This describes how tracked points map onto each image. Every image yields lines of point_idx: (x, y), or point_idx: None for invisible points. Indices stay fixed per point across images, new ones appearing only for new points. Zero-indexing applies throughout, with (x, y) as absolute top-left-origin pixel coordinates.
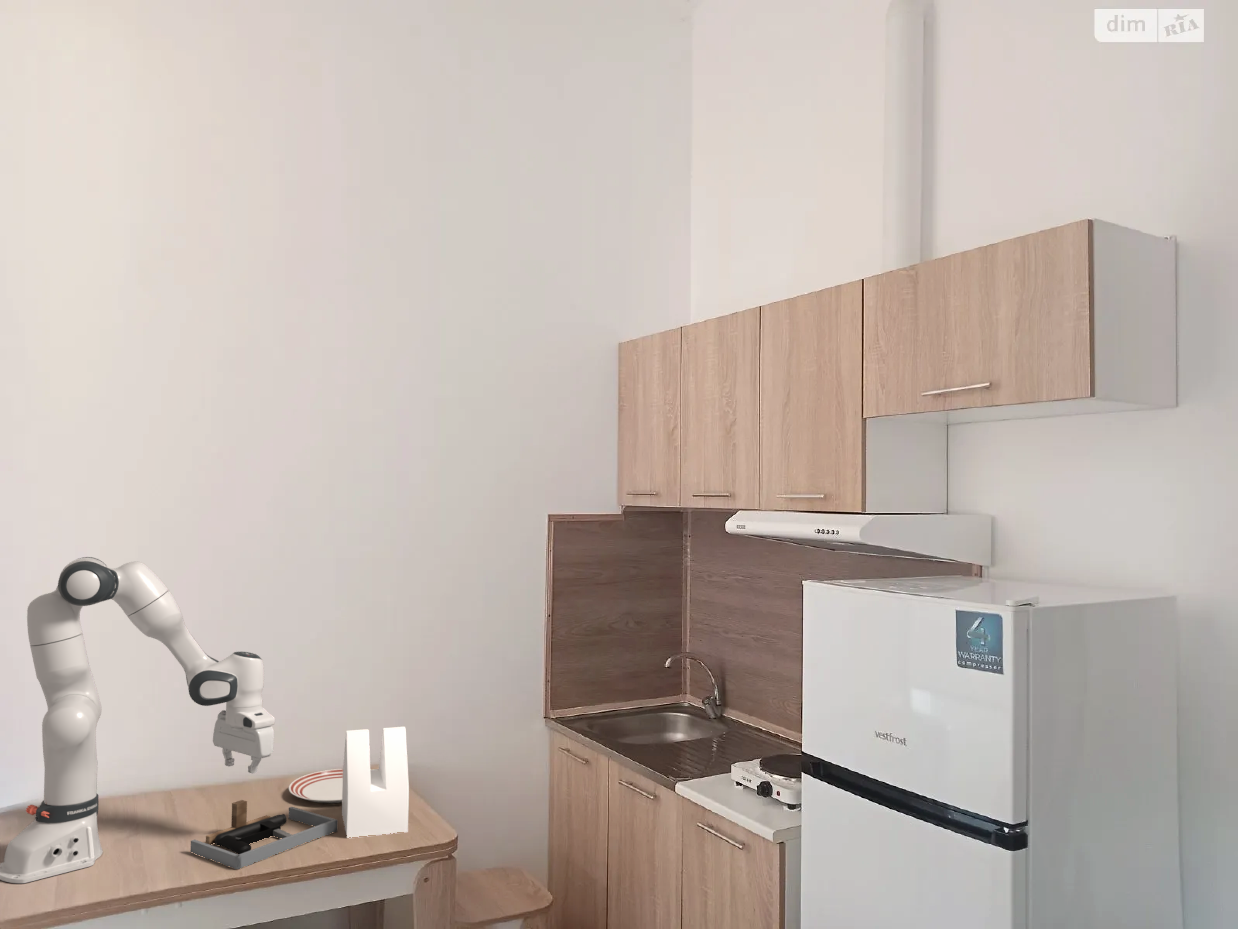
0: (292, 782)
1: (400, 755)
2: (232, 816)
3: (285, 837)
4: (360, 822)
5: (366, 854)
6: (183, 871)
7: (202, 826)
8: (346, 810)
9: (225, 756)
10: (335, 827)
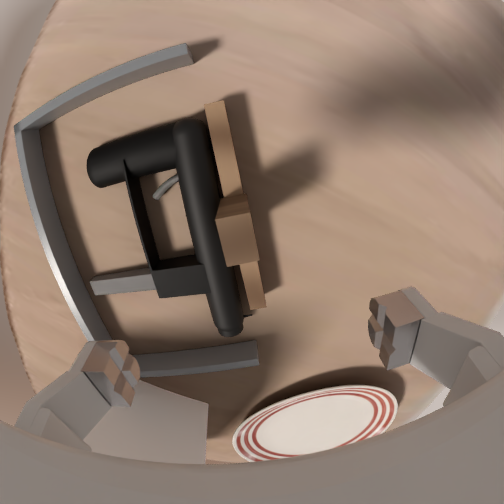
0: (391, 396)
1: None
2: (242, 201)
3: (54, 260)
4: None
5: (17, 328)
6: (98, 25)
7: (371, 167)
8: None
9: (447, 329)
10: None
